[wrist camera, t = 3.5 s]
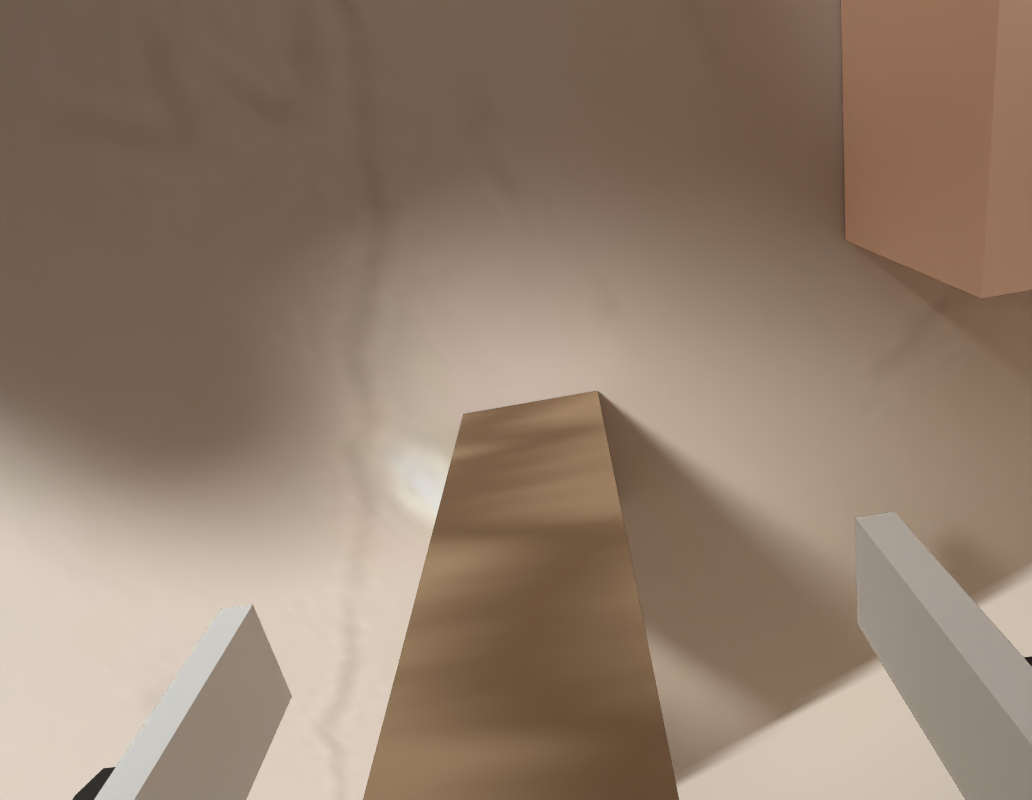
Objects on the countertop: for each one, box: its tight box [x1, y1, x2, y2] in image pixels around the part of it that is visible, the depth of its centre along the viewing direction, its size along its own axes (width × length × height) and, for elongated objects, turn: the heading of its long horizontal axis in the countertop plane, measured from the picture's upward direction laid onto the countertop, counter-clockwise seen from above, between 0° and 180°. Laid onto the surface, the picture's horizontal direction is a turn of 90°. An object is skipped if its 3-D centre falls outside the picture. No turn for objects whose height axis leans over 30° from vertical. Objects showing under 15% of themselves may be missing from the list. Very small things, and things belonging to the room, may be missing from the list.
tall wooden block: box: [363, 391, 679, 800], centre depth 14 cm, size 4×4×14 cm
